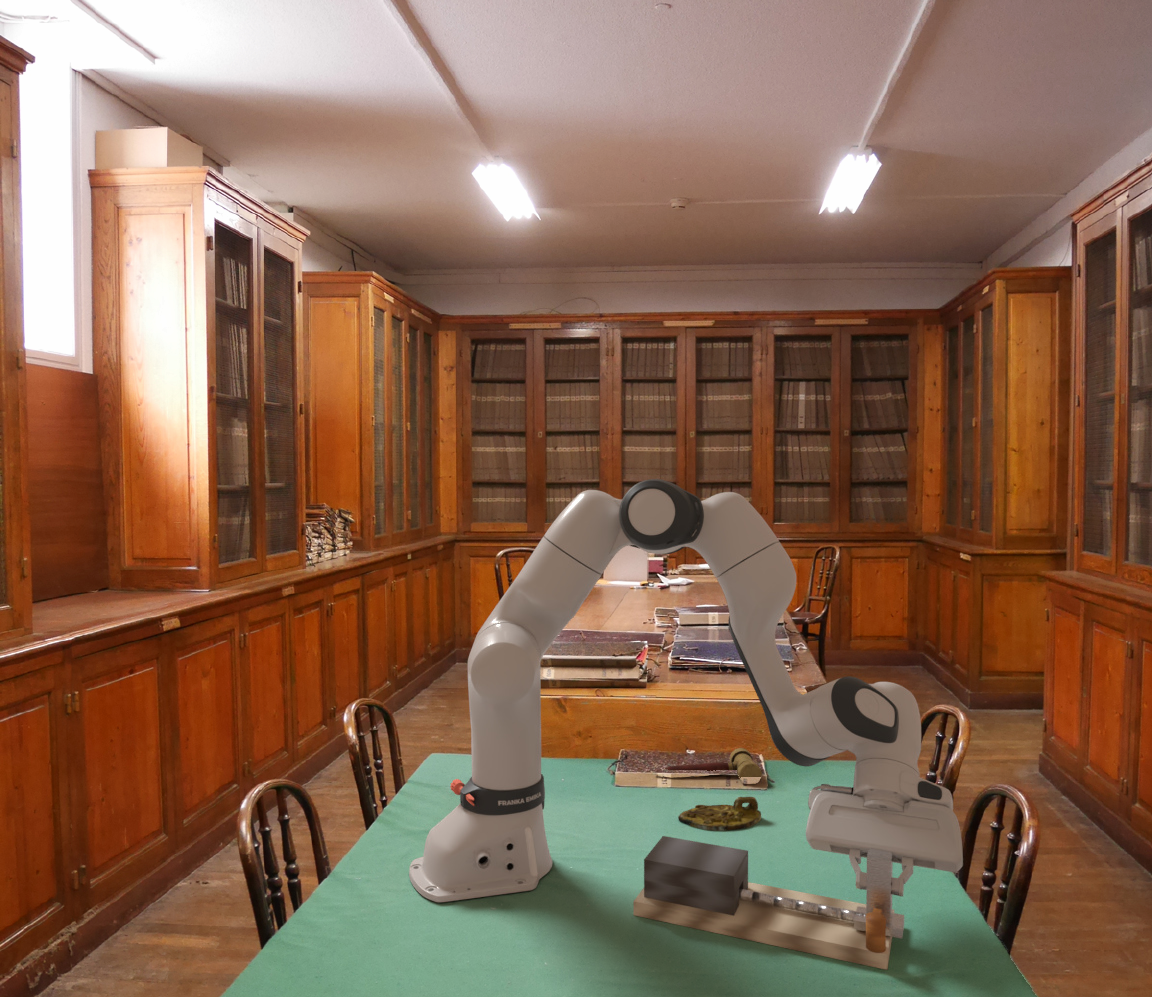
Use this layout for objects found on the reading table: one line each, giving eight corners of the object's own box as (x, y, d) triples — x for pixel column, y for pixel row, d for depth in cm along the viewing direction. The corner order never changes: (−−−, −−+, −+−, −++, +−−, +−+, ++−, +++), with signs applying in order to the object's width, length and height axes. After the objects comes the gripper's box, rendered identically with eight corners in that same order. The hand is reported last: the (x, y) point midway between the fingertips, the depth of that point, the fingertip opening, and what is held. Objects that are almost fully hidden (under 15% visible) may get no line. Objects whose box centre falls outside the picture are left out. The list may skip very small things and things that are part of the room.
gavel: (656, 771, 174) (651, 754, 184) (658, 794, 174) (652, 776, 184) (761, 763, 174) (750, 746, 184) (762, 785, 174) (751, 768, 184)
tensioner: (633, 915, 124) (632, 863, 124) (660, 878, 135) (660, 830, 135) (887, 970, 110) (887, 912, 110) (894, 923, 121) (894, 870, 121)
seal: (685, 840, 152) (768, 834, 154) (685, 814, 151) (769, 809, 153) (672, 813, 161) (752, 807, 163) (673, 789, 160) (752, 784, 162)
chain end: (728, 903, 123) (728, 835, 122) (735, 890, 126) (735, 824, 126) (902, 938, 113) (902, 865, 113) (904, 923, 117) (904, 852, 117)
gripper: (808, 772, 126) (796, 867, 118) (963, 792, 118) (962, 896, 110) (813, 791, 131) (801, 885, 122) (963, 812, 122) (962, 914, 114)
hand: (879, 890), depth 116 cm, fingers closed on chain end, 3 cm apart
